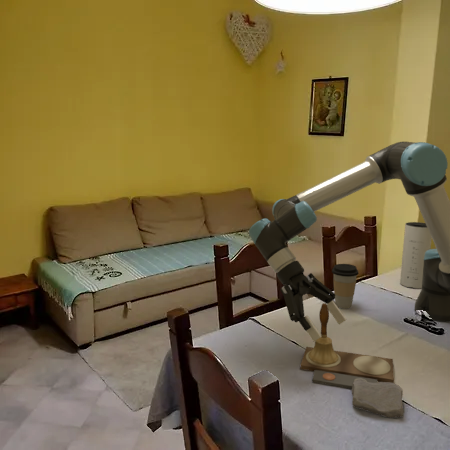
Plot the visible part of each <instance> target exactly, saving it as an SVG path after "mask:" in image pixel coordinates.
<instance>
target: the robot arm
mask: <svg viewBox="0 0 450 450" xmlns="http://www.w3.org/2000/svg"><path fill="white" fill-rule="evenodd" d="M447 159H448V158H447V156H446V153H444V151H443V149H441V148H440V147H439V146H436V145H434V144H431V143H428V142H423V141H422V142H421V141H420V142H418V141H417V142H413V141H398V142H395V143H393V144H390V145H388V146H386V147H384V148H382V149H380V150H378V151H376V152H374V153H372V154H370V155H367V156H366V157H365V159H364V161H362V162H361V163H358V164H356V165H354V166H352V167H351V168H349V169H346V170H344V171H342V172H340V173H338V174H336V175H334V176H332V177H330V178H328V179H325V180H323V181H322V182H319V183H318V184H316V185H314V186H312V187H310V188H307V189H305V190H303V191H301V192H299V193H297V194H295V195H293V196H291V197H288V198H280V199H278V200H276V201H275V202H274V203H273V205H272V208H271V212H272V216H273V217H274V219H273V220H272V221H271V220H269V219H268V218H262V219H260V220H258V221H256V222H254V224H252V226H250V228H249V230H248V236H249V237H250V239H251V241H252V242H253V244H254V245H255V247H256V249H257V250H258V251H259V252H260V254H261V255H262V257H263V258H264V259H265V261H266V262H267V263H268V265H269V266H270V268H271V269H272V270H273V273H275V274H276V277H277V279H278V280H279V282H280V283H281V284H282V285H283V286H282V287H281V288H280V293H281V295H282V296H283V298H284V302H285V306H286V309H287V312H288V316H289V320H290V321H291V322H295V323H299V324H300V326H301V327H302V328H303V330H304V331H306V332H307V335H309V337H310V338H311V340H312V341H313V342H315V341H316V340H317V339H319V338H320V337H322V336H321V332H319V330H318V328H317V327H316V325H314V323H313V321H312V320H311V319H310V317H309V316H308V315H305V309H304V300H303V296H304V295H311V296H312V297H314V298H316V299H318V300H319V301H321V302H323V303H326V304H327V308H328V311H329V314H331V316H332V317H333V319H335V321H336V323H337V324H338V325H341V324H342V323H344V322H345V321H347V318H346V317H345V315H344V314H343V312H342V311H341V308H339V307H338V306H337V305H336V303H335V294H334V291H332V290H331V289H330V288H328V287H327V286H326V285H324V283H322V282H321V281H320V280H318V278H316V276H315V275H314V274H313V273H312V272H310V273H308V274H307V275H305V274H304V272H305V267H303V266H302V264H301V263H300V261H299V260H297V257H296V256H295V254H294V253H293V251H292V250H291V249H290V248H289V246H288V245H287V243H288V242H289V241H291V240H292V239H294V238H295V237H297V236H299V234H301V233H302V232H305V230H307V229H309V228H311V226H313V225H314V224H315V223H316V222H317V221H318V217H317V215H316V213H315V212H316V211H318V210H321V209H323V208H326V207H327V206H329V205H331V204H334V203H335V202H337V201H339V200H342V199H344V198H346V197H348V196H351V195H352V194H354V193H357V192H359V191H360V190H362V189H365V188H367V187H368V186H371V185H372V184H375V183H376V184H382V183H385V182H386V181H390V180H400V181H401V183H402V185H403V188H404V190H405V193H406V194H407V196H411V197H414V199H415V200H414V201H416V202H415V203H416V205H417V207H418V209H419V211H420V215H421V216H422V218H423V221H424V223H426V226H427V228H428V230H429V233H430V235H431V237H432V239H431V241H433V245H434V247H435V248H431V249H430V250H427V251H426V252H425V256H424V266H423V278H422V289H420V292H419V295H418V296H417V298H416V300H415V302H414V309H413V310H414V312H415V311H416V310H423V311H426V312H427V313H428V314H429V315H430V316H431V318H432V319H433V320H432V321H435V322H436V321H437V322H448V323H449V322H450V198H449V196H448V193H447V191H446V188H445V184H446V182H447V180H448V179H447V178H448V177H447V176H446V174H447V169H448V160H447Z"/></svg>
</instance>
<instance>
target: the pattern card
mask: <svg viewBox="0 0 450 450" xmlns="http://www.w3.org/2000/svg"><path fill="white" fill-rule="evenodd" d="M358 379H362V380H364V381H366V382H371V383H378V381H377V379H370V378H364V377H358V376H351V375H345V374H339V373H332V372H326V371H319V370H315V371H313V376H312V379H311V382H312V383H315V384H321V385H326V386H332V387H337V388H344V389H348V390H349V389H350V390H352V384H353V383H354V381H356V380H358Z"/></svg>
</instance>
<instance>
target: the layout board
mask: <svg viewBox="0 0 450 450" xmlns="http://www.w3.org/2000/svg"><path fill="white" fill-rule="evenodd" d="M313 348H314V347H310V346H306V347H305V350H304V353H303V356H302V359H301V362H300V365H299V367H300V368H299V369H300V370H304V371H309V372H310V371H311V372H314V371H315V370H319V371H326V372H332V373H339V374H345V375H351V376H358V377H364V378H370V379H377V383H378V382H390V383H394V382H395V381H394V380H395V379H394V378H395V377H394V374H395V373H394V358H389V357H383V356H382V357H381V356H375V355H367V354H362V353H361V354H360V353H354V352H353V353H352V352H346V351H340V350H339V351H338V350H334V352H335V353H336V354H337V355H338V361H337V362H336V363H333V364H328V365H323V364H318V363H315V362H313V361H311V360H310V359H309V357H308V355H309V353H310V351H311V350H313ZM394 384H395V383H394Z"/></svg>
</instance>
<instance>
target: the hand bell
mask: <svg viewBox="0 0 450 450" xmlns="http://www.w3.org/2000/svg"><path fill="white" fill-rule="evenodd" d="M329 318H330V311H329V310H328V308H327V304H326V303H325V302H323V303H322V304H321V307H320V309H319V322H320V334H321V336H322V337H320V338H319V339H317V340H316V341H314V346H313V347H312V348H313V350H311V351H310V353H309V355H308V357H309V359H310V360H311V361H313V362H315V363H318V364H323V365H328V364H333V363H336V362H337V361H338V355H337V354H336V353H335V352H334V351H335V350H334V347H333V340H332V339H331V338H330V337H329V336H328V329H327V328H328V323H329Z"/></svg>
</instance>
